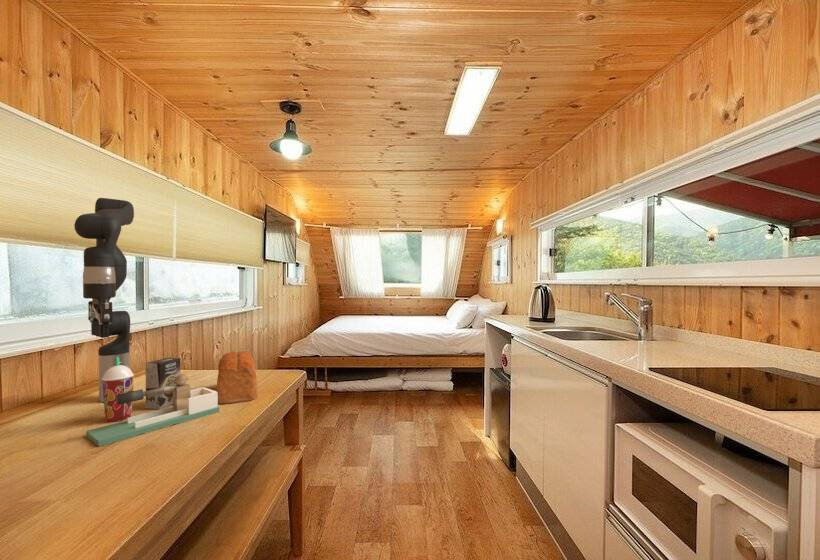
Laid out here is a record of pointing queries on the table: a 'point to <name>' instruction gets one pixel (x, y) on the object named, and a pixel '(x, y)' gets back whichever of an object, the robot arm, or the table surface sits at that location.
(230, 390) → the bread
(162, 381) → the coffee box
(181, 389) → the rod
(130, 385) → the smoothie
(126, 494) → the table surface
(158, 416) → the pitch
